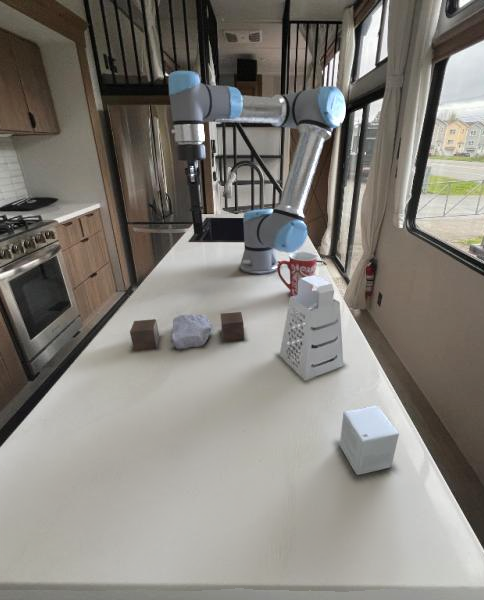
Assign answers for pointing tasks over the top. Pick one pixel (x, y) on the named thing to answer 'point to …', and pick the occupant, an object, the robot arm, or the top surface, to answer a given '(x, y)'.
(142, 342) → the walnut block
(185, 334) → the stone block
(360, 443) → the product box
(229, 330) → the walnut block
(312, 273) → the mug
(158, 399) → the top surface
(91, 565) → the top surface
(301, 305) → the grater
